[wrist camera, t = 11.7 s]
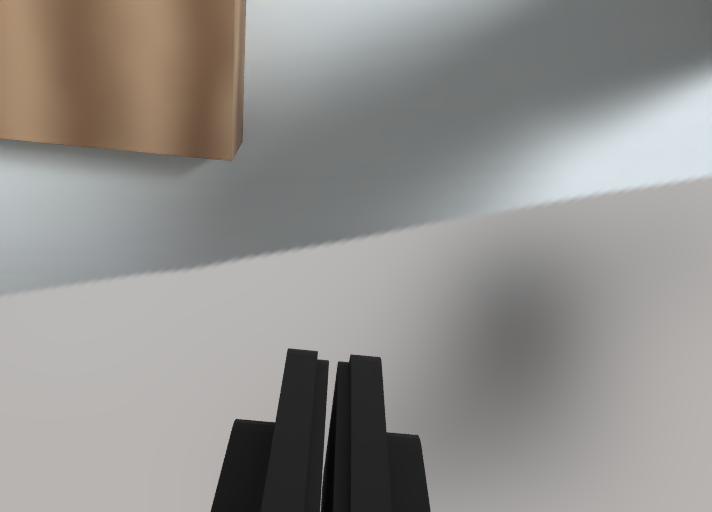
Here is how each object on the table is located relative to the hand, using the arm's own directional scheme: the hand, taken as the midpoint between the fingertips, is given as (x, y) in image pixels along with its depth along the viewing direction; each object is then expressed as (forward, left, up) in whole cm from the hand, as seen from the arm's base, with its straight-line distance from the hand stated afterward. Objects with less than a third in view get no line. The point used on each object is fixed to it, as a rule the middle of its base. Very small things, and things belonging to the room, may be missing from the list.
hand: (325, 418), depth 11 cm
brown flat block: (+14, -4, -29) cm, 32 cm away
